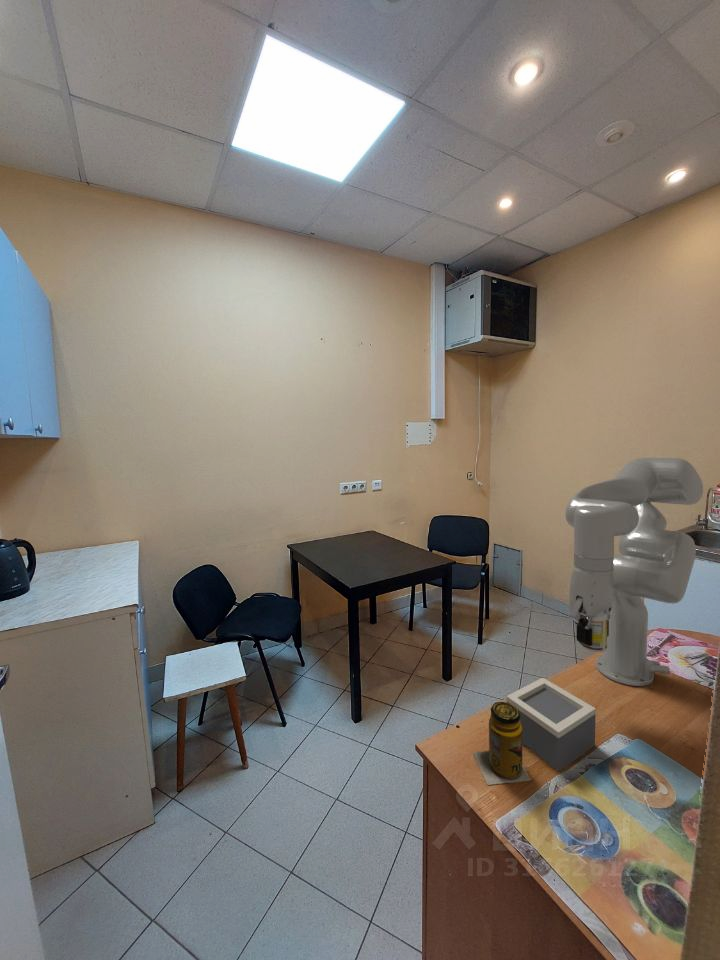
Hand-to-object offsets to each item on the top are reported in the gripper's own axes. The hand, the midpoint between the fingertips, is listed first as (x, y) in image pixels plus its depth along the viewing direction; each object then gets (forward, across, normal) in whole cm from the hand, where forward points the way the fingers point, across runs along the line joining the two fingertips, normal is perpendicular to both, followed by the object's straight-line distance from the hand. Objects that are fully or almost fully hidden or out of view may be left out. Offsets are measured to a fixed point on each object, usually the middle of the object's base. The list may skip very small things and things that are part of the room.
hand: (592, 638), depth 86 cm
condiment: (+17, +30, 0) cm, 35 cm away
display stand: (+17, +16, 0) cm, 23 cm away
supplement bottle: (+2, 0, 0) cm, 2 cm away
